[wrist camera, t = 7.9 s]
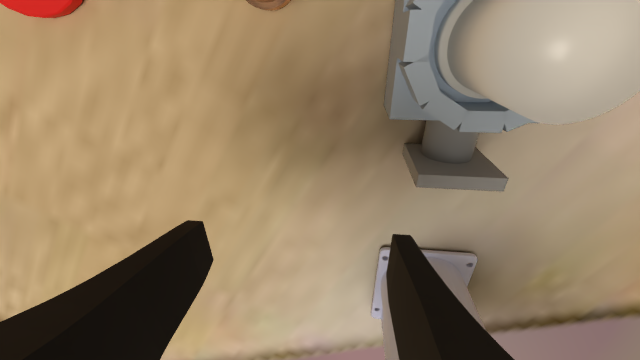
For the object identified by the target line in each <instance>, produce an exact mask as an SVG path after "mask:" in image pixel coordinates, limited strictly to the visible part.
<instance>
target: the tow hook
mask: <svg viewBox="0 0 640 360" xmlns="http://www.w3.org/2000/svg"><path fill="white" fill-rule="evenodd" d="M82 1H83V0H0V3H1V4H3V5H4V6H6V7H7V8H9V9H11V10H14V11H16V12H19V13H22V14H24V15H27V16H33V17H42V18H57V17H60V16H64V15H68V14H70V13H71V12H73V11H74V10H75V9H76V8H77V7H78V6H79V5H81V3H82Z"/></svg>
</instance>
